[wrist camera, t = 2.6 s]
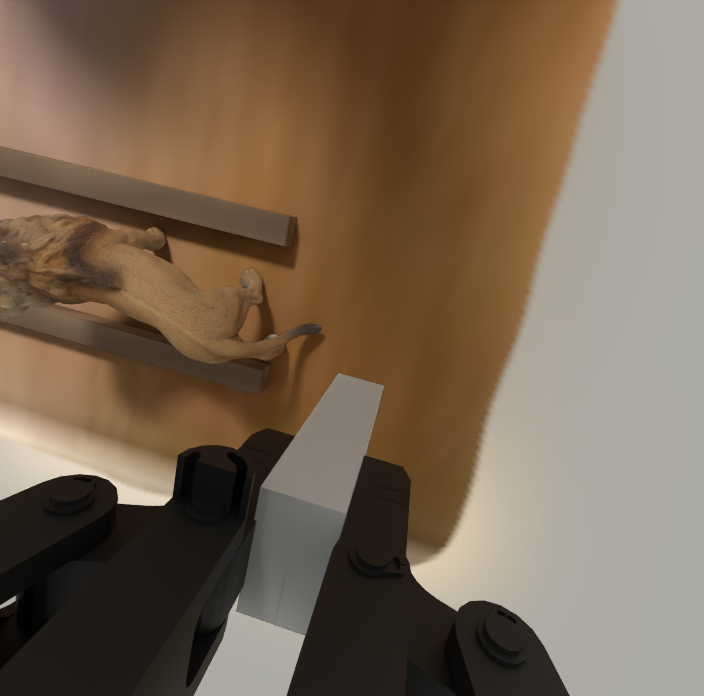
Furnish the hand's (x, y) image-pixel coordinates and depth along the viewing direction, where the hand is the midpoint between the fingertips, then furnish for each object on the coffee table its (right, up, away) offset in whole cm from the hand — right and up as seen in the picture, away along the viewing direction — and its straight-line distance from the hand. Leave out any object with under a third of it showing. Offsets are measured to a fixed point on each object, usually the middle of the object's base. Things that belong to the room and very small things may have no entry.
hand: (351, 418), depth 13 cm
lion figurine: (-9, +6, +11) cm, 15 cm away
